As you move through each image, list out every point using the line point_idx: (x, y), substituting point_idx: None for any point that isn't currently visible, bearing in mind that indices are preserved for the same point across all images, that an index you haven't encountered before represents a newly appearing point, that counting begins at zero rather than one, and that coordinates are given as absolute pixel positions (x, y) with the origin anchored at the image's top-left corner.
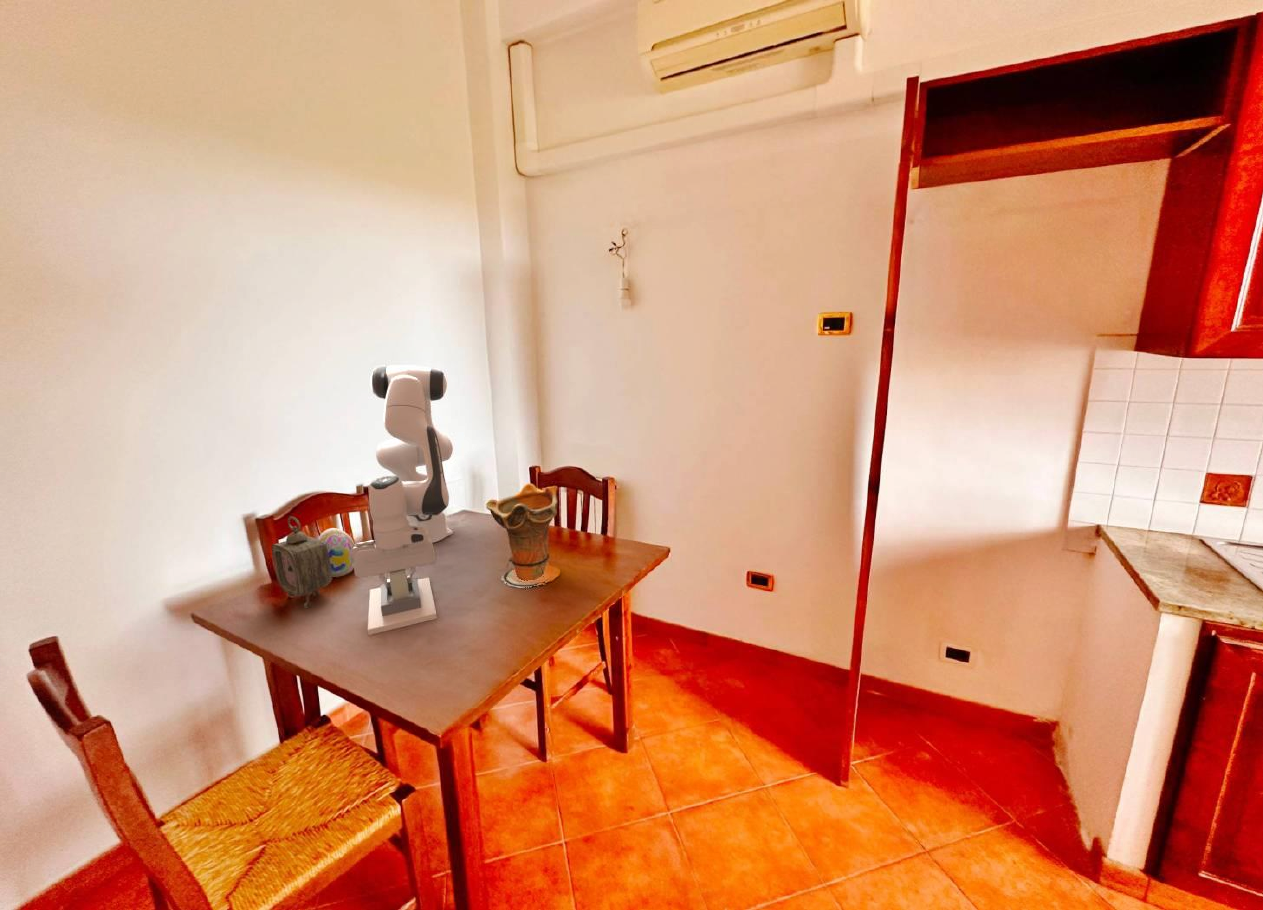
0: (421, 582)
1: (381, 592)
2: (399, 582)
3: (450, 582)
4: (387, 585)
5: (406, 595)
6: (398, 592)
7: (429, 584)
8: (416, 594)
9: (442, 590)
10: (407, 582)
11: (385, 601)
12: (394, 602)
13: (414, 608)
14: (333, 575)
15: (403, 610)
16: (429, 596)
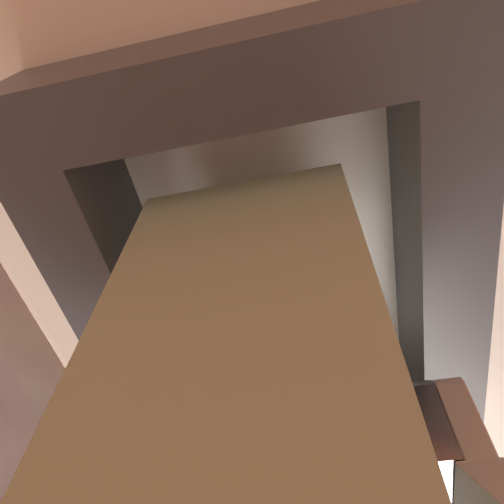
0: None
1: (481, 371)
2: (203, 364)
3: (16, 446)
4: (439, 405)
5: (167, 211)
6: (258, 234)
7: None
8: (43, 210)
9: (26, 374)
10: None
11: (442, 131)
12: (304, 47)
13: (90, 57)
14: None
15: (206, 29)
16: (37, 279)
